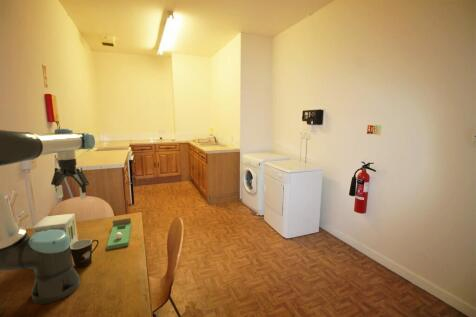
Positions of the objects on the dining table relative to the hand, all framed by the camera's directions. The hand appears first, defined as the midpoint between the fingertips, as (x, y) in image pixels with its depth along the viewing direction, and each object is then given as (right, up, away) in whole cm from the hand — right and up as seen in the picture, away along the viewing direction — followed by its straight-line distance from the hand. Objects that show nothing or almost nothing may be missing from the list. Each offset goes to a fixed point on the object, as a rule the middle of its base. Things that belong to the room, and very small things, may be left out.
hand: (71, 198), depth 125 cm
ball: (+24, -21, +2) cm, 32 cm away
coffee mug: (+18, -28, -15) cm, 36 cm away
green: (+21, -23, +9) cm, 33 cm away
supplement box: (-2, -27, -6) cm, 27 cm away
